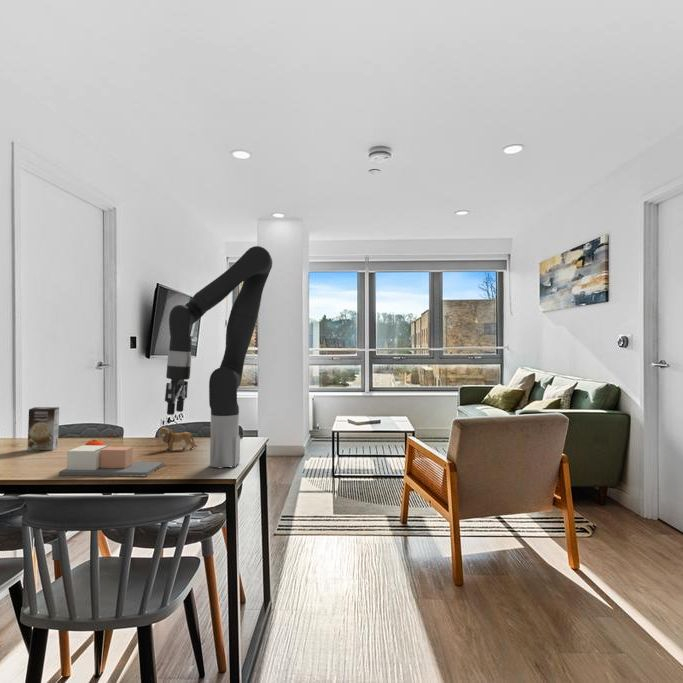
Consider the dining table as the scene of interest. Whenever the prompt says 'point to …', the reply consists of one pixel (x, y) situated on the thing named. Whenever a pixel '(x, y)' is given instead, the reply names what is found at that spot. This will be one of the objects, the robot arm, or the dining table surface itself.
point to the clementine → (95, 442)
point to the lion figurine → (175, 438)
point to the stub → (116, 457)
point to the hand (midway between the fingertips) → (175, 412)
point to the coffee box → (43, 428)
